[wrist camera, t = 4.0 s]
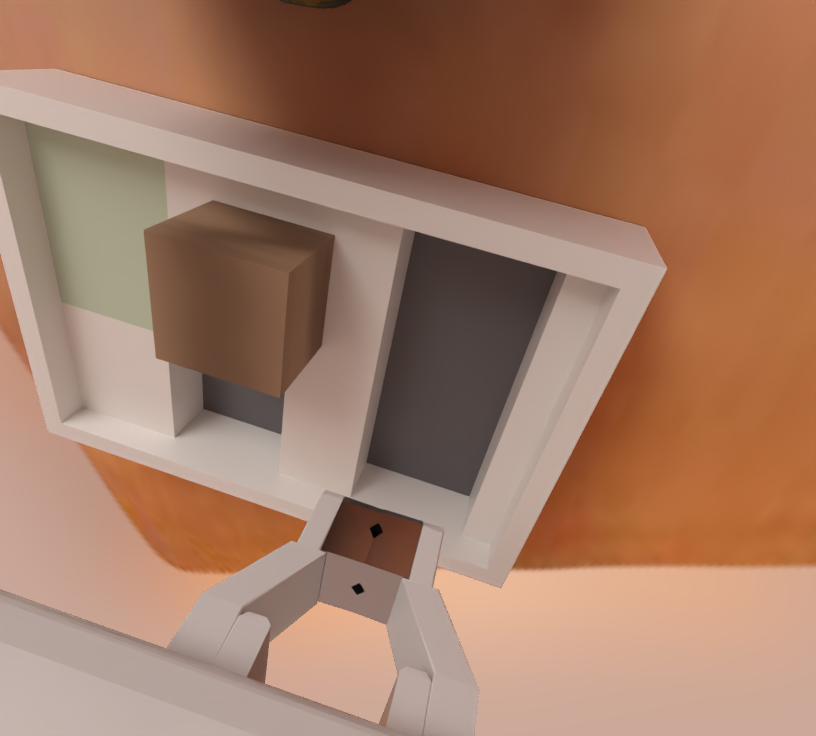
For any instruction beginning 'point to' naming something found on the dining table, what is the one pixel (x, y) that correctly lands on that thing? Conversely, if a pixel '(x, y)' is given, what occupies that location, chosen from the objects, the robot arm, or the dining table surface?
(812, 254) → the dining table surface
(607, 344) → the track
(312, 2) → the squash
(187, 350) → the walnut block
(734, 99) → the dining table surface
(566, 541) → the dining table surface
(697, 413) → the dining table surface
